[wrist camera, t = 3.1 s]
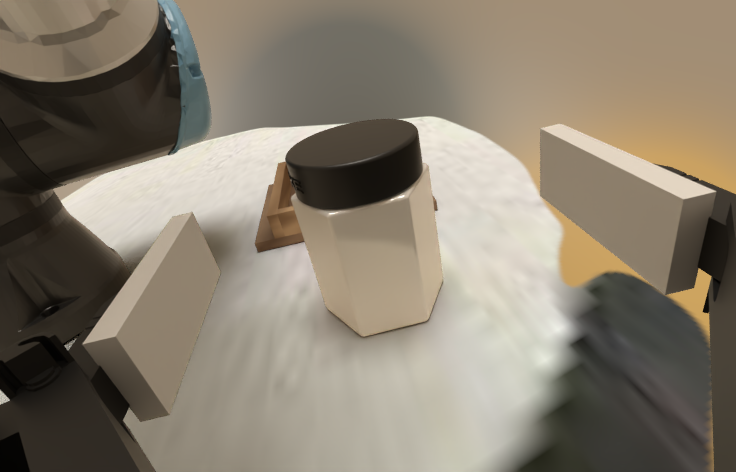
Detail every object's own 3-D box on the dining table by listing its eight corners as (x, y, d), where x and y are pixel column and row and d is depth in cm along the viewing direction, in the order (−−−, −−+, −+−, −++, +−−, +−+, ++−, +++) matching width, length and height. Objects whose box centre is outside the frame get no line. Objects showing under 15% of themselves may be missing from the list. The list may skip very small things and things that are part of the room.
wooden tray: (258, 252, 40) (245, 221, 38) (271, 192, 53) (262, 167, 51) (437, 209, 40) (433, 177, 38) (406, 160, 53) (402, 134, 51)
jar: (359, 257, 36) (324, 121, 30) (452, 263, 32) (434, 111, 26) (309, 330, 29) (252, 173, 23) (421, 347, 25) (388, 168, 19)
